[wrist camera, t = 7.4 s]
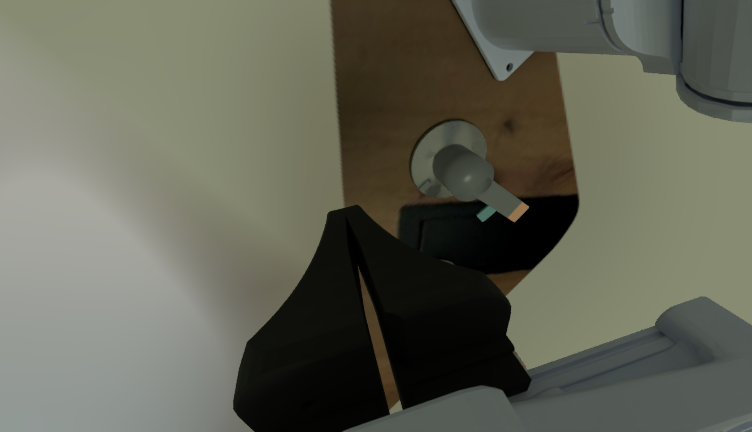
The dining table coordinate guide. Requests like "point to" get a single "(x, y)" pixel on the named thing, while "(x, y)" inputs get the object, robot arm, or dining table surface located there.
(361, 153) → the dining table surface
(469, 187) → the turn lever
